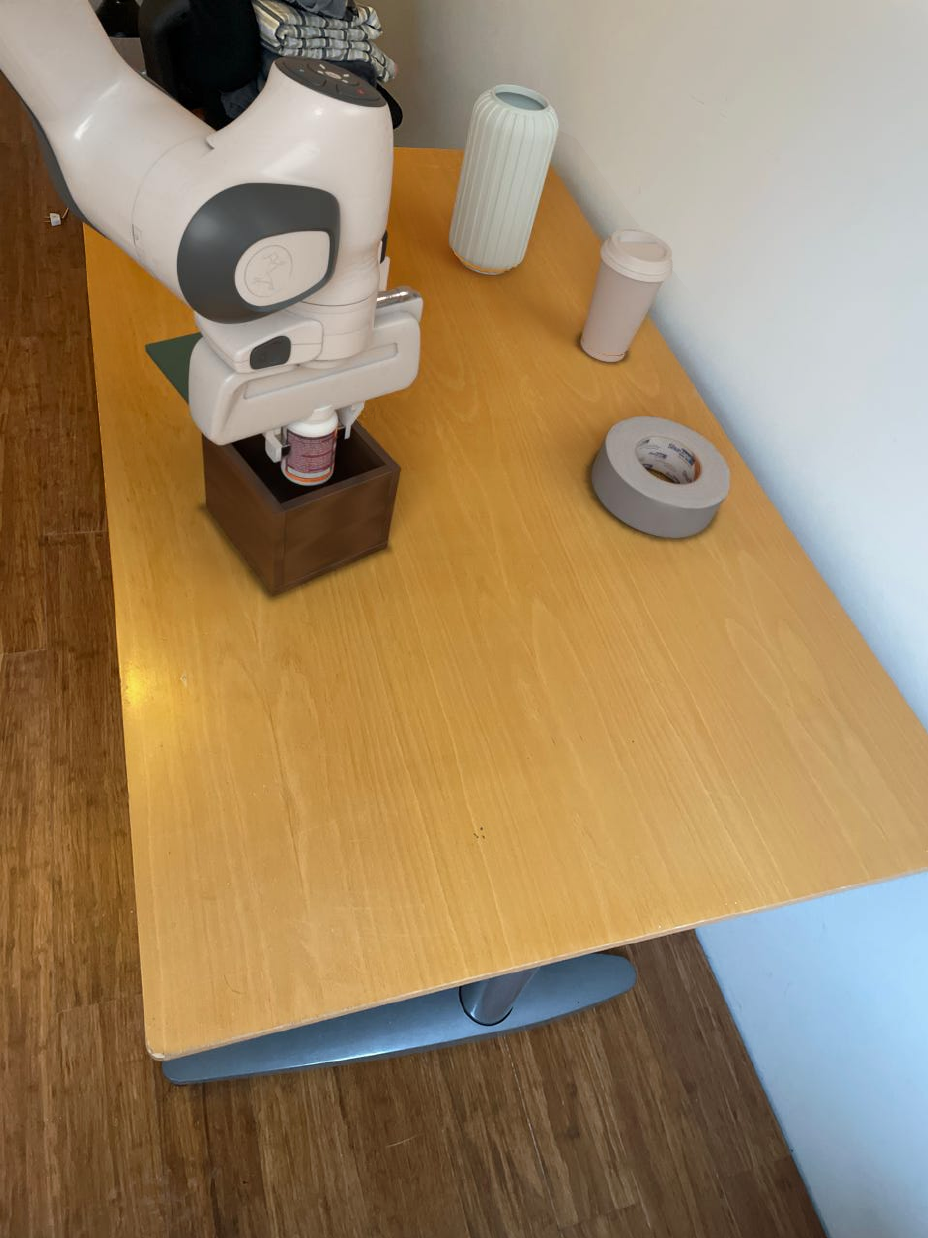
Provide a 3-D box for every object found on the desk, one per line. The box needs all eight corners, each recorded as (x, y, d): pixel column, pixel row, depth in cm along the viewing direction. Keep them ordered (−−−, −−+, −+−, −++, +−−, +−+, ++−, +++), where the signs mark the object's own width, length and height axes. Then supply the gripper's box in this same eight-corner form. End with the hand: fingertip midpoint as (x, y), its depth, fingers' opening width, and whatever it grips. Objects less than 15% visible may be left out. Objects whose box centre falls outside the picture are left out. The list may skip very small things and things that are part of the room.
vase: (430, 256, 119) (460, 89, 102) (470, 231, 126) (504, 70, 109) (497, 291, 117) (538, 126, 100) (533, 263, 124) (578, 104, 107)
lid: (212, 435, 72) (210, 400, 69) (145, 351, 77) (141, 316, 74) (337, 397, 78) (340, 364, 76) (267, 322, 83) (268, 288, 81)
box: (273, 596, 76) (275, 514, 68) (206, 507, 81) (200, 421, 73) (386, 548, 83) (401, 467, 74) (317, 468, 88) (324, 384, 79)
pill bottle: (342, 479, 75) (351, 405, 68) (295, 493, 73) (299, 418, 66) (317, 446, 77) (323, 372, 70) (271, 459, 75) (273, 383, 68)
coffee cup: (634, 336, 117) (675, 235, 106) (636, 375, 111) (680, 273, 100) (569, 320, 116) (604, 217, 105) (569, 359, 110) (605, 254, 99)
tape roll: (727, 485, 101) (747, 454, 97) (692, 559, 91) (711, 528, 87) (616, 430, 103) (631, 397, 99) (570, 496, 93) (584, 463, 89)
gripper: (403, 261, 68) (382, 395, 79) (172, 310, 58) (184, 457, 69) (448, 302, 66) (421, 435, 77) (215, 361, 56) (221, 505, 66)
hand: (307, 446), depth 73 cm, fingers closed on pill bottle, 5 cm apart
